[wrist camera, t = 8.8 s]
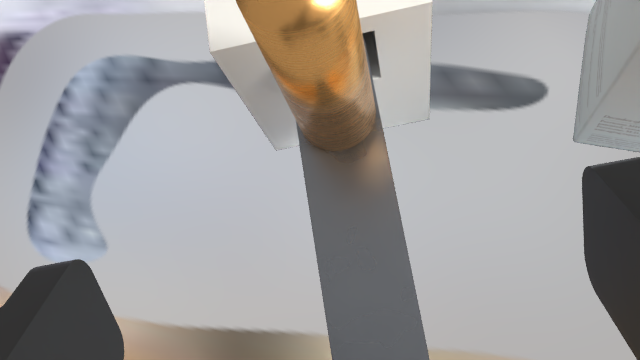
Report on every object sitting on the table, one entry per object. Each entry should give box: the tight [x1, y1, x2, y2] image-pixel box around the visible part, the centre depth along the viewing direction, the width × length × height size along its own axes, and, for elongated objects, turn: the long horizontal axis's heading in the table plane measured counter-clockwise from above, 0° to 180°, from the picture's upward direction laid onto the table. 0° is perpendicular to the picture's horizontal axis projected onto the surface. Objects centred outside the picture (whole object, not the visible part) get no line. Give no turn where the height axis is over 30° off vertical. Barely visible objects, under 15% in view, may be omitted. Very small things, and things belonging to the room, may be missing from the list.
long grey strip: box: [236, 0, 429, 360], centre depth 18 cm, size 3×20×11 cm, turn 9°
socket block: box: [204, 0, 432, 150], centre depth 27 cm, size 8×5×10 cm, turn 99°
